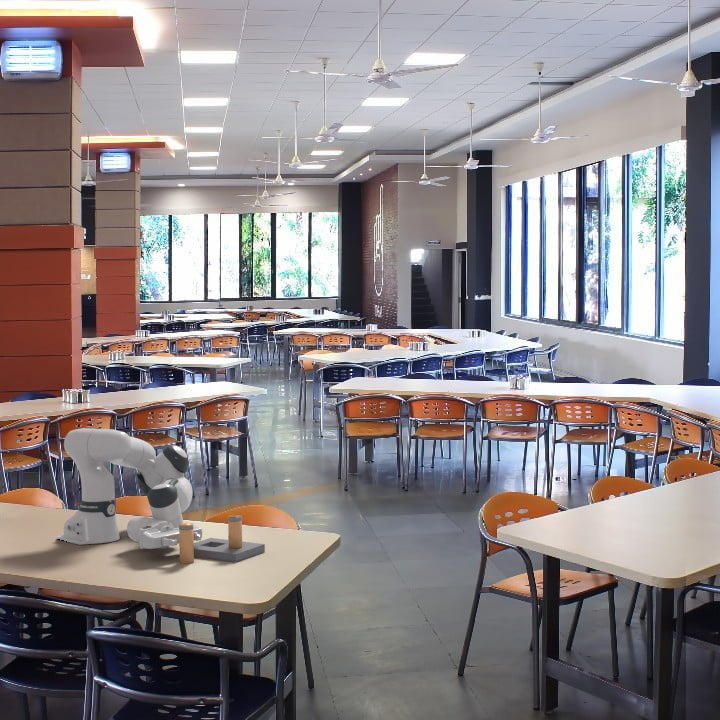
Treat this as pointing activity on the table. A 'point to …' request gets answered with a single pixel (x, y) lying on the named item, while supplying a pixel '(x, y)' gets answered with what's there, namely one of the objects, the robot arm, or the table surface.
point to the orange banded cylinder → (186, 543)
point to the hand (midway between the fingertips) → (187, 540)
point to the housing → (228, 544)
